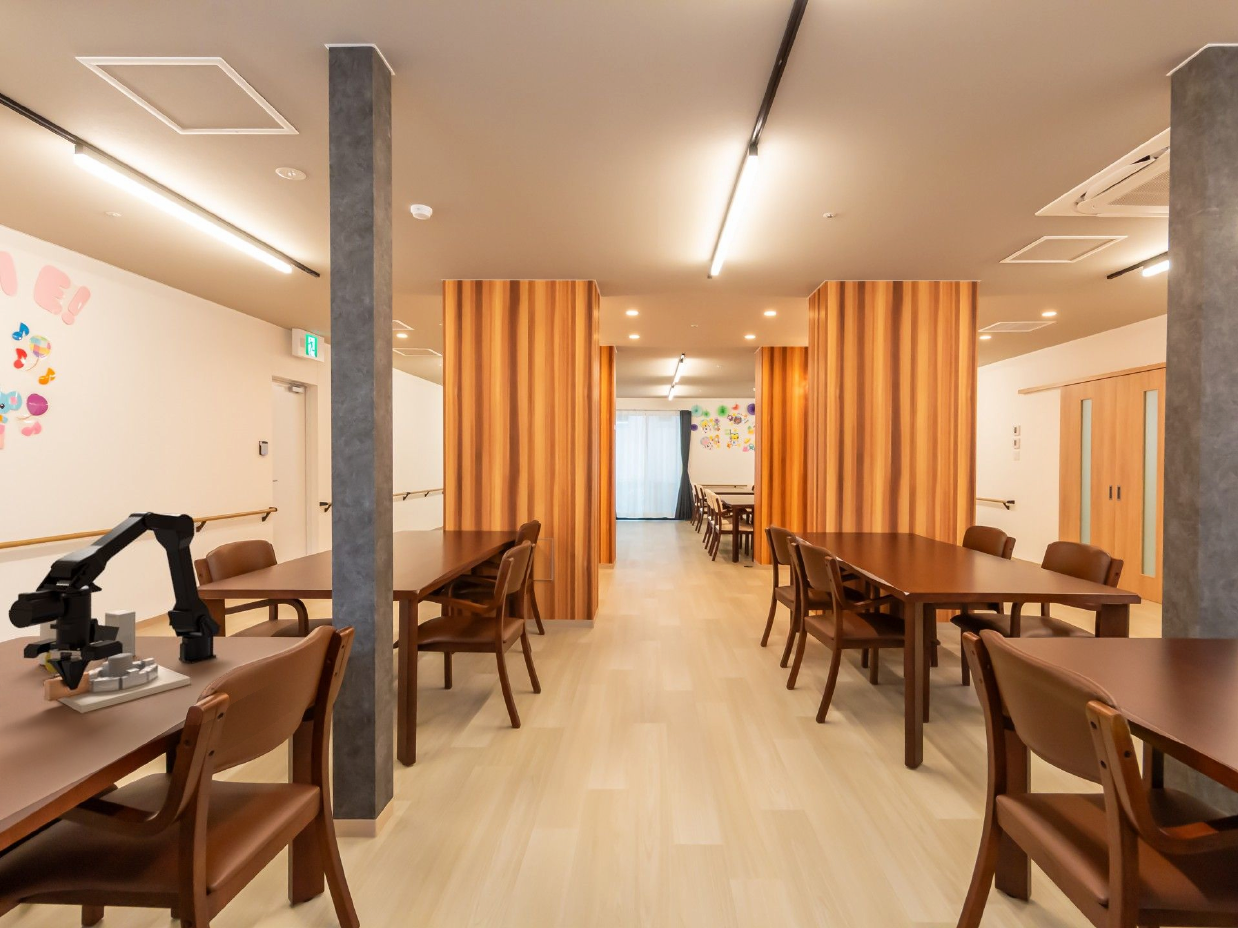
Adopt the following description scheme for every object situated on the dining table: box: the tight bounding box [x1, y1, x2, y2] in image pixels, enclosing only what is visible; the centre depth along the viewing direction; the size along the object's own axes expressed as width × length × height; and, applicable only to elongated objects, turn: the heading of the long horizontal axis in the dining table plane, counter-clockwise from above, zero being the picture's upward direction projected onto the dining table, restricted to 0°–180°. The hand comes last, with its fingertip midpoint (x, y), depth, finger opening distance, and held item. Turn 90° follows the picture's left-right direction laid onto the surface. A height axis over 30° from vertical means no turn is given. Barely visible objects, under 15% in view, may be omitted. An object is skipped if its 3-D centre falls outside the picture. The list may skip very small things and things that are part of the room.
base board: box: [53, 653, 191, 714], centre depth 140 cm, size 20×20×8 cm
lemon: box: [44, 653, 58, 675], centre depth 148 cm, size 6×6×8 cm
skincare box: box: [104, 609, 136, 656], centre depth 164 cm, size 6×4×12 cm
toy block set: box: [43, 657, 159, 702], centre depth 137 cm, size 20×13×4 cm, turn 152°
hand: (73, 689), depth 130 cm, fingers closed
